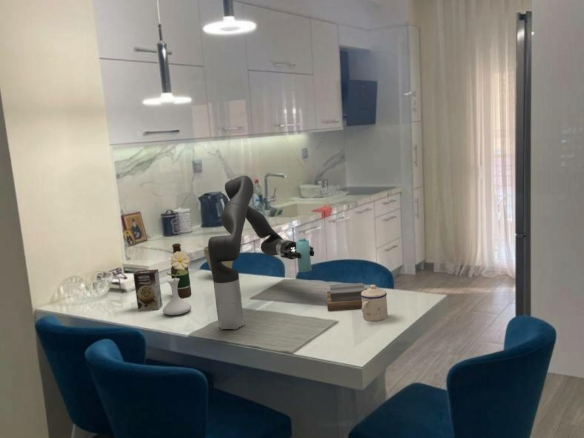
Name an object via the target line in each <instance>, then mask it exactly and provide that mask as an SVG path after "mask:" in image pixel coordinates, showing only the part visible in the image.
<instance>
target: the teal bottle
mask: <svg viewBox="0 0 584 438" xmlns="http://www.w3.org/2000/svg"><path fill="white" fill-rule="evenodd" d="M295 242H296V249H297V252H299V253H301V258H300V259H298V258H296V259H297V267H298V269H297V270H298V272H299V273H309V272H311V271H312V261H311V260H312V259H311V256H310V247H309V246H310V240H309V239H306V237H300V238H298V240H295Z"/></svg>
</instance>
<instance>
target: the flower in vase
mask: <svg viewBox="0 0 584 438" xmlns="http://www.w3.org/2000/svg"><path fill="white" fill-rule="evenodd" d="M190 260H191V259H190V257H189V256H188V254H186V253H185V252H184V251H182V250H181V251H180V252H178V251H177V252H176V253H174V255H173V254H171V256H170V265H171V267H172V266H173V267H174V268H175V269H178V271H177V273H179V274H181V275H185V274H187V273H189V274H190V272H188V271H187V270H185V268H187V267H188V268H189V266H190ZM180 269H181V270H180ZM165 274H167V275H168V276H170V277H171V276H175V275H174V274H171V273H168V272H166V273H165ZM176 276H177V274H176ZM176 276H175V278H173V279H172V278H169V279H167V280H166V283H168V284H169V286H170V289H171V295H172V297H171V299H170V300H169V301H168V302H167V303H166V305H165V306H164V307H163V309H162V313H163V314H165V315H169V316H176V315H177V316H178V315H182V314H183V315H184V314H186V313H187V312H189V311H190V310H191V309H192V305H191V304H190V303H189V302H188V301H186V300H184V299H183V298H182V299H181V298H180V297H179V295H178V290H177V286H178V282H179V280H180V279H179V278H176Z"/></svg>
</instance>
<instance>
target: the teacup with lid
mask: <svg viewBox="0 0 584 438" xmlns="http://www.w3.org/2000/svg"><path fill="white" fill-rule="evenodd" d="M387 295H388V294H387V291H386V290H385V289H383V288H382V289H381V288H379V287H377V285H375V284H371V285H370V286H369V287H368V288H367V290H364V291H363V292H362V293H361V297H362V309H361V312H362V318H363V319H364V320H366V321H369V322H381V321H384V320H386V319H387V318H388V317H389V316H388V304H387V303H388V301H387Z"/></svg>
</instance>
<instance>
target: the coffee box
mask: <svg viewBox="0 0 584 438" xmlns="http://www.w3.org/2000/svg"><path fill="white" fill-rule="evenodd" d="M133 281H134V290H135V298H136V305H137V311H138V312H146V311H158V310H160V309H161V308H162V307H163V302H162V301H163V299H162V292H161V284H160V283H161V282H160V274H159V269H157V268H156V269H146V270H145V269H144V270H137V271H135V272H134V273H133Z"/></svg>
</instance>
